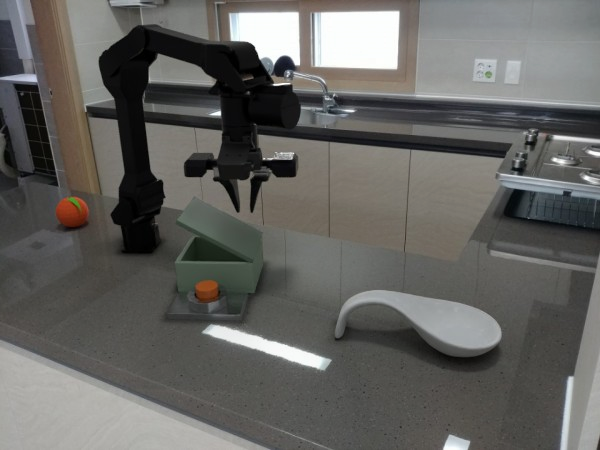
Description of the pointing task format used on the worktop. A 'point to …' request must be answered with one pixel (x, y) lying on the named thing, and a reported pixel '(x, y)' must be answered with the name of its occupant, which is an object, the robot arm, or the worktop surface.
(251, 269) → the fryer
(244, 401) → the worktop surface
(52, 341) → the worktop surface
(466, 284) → the worktop surface
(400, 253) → the worktop surface
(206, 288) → the button
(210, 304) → the control panel
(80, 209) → the clementine
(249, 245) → the lid
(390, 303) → the spoon rest
